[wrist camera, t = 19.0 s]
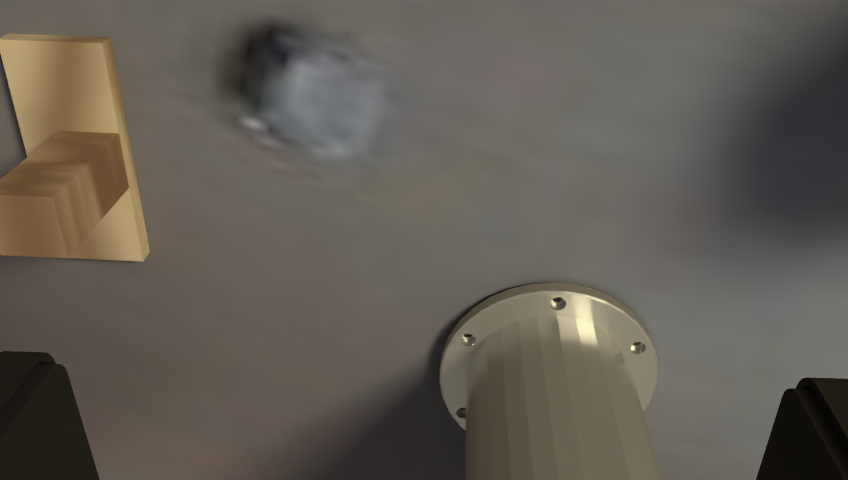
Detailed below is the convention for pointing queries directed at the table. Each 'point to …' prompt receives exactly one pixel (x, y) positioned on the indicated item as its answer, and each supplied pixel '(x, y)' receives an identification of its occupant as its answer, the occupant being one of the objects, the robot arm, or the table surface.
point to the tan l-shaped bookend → (69, 154)
